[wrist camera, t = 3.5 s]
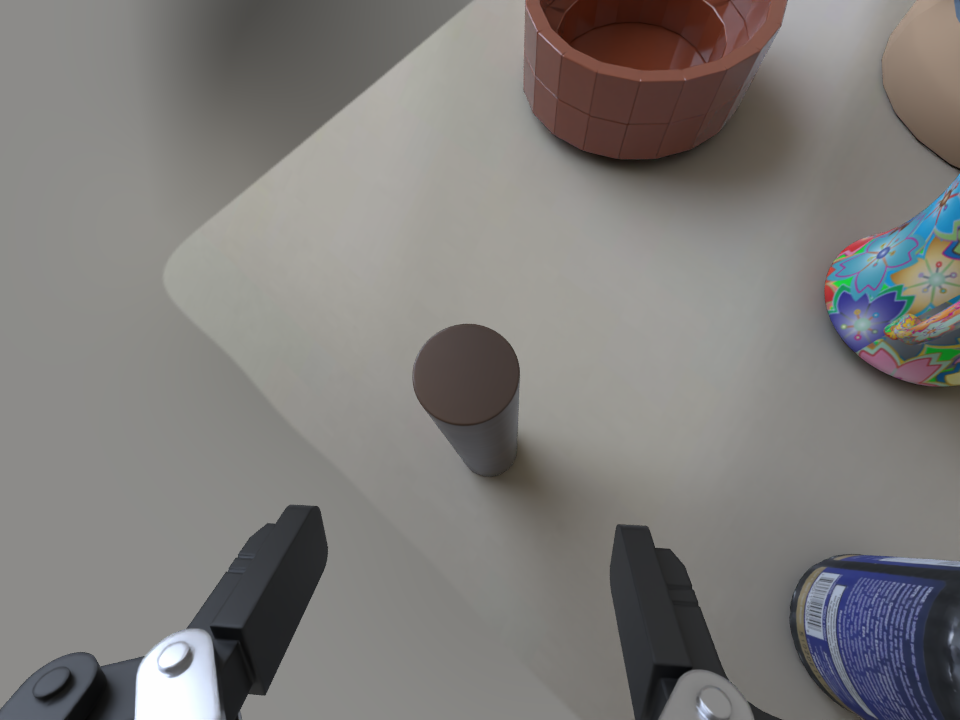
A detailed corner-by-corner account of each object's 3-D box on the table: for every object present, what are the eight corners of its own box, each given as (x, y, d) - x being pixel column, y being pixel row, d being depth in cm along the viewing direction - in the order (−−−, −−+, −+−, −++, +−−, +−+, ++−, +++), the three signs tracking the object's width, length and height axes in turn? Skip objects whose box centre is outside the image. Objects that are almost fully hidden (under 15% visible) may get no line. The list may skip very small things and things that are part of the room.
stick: (459, 475, 23) (406, 423, 12) (462, 419, 24) (417, 322, 13) (516, 477, 23) (518, 428, 12) (517, 421, 24) (520, 323, 12)
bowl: (521, 170, 29) (522, 84, 23) (525, 18, 34) (528, -85, 28) (749, 168, 28) (809, 78, 22) (722, 11, 32) (766, -98, 27)
